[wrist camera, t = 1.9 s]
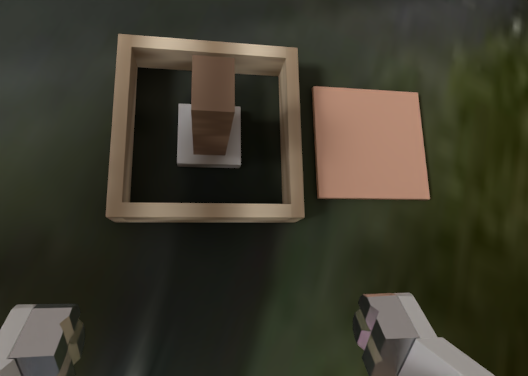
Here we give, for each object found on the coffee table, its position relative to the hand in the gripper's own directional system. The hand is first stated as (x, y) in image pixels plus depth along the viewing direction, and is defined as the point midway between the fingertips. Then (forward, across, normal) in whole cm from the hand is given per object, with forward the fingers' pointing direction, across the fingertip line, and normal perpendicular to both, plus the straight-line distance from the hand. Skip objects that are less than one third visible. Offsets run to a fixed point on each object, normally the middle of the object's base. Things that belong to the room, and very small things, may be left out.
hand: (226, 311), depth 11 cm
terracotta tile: (+22, -14, +5) cm, 26 cm away
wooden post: (+22, 0, +4) cm, 22 cm away
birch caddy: (+22, 0, +4) cm, 22 cm away
